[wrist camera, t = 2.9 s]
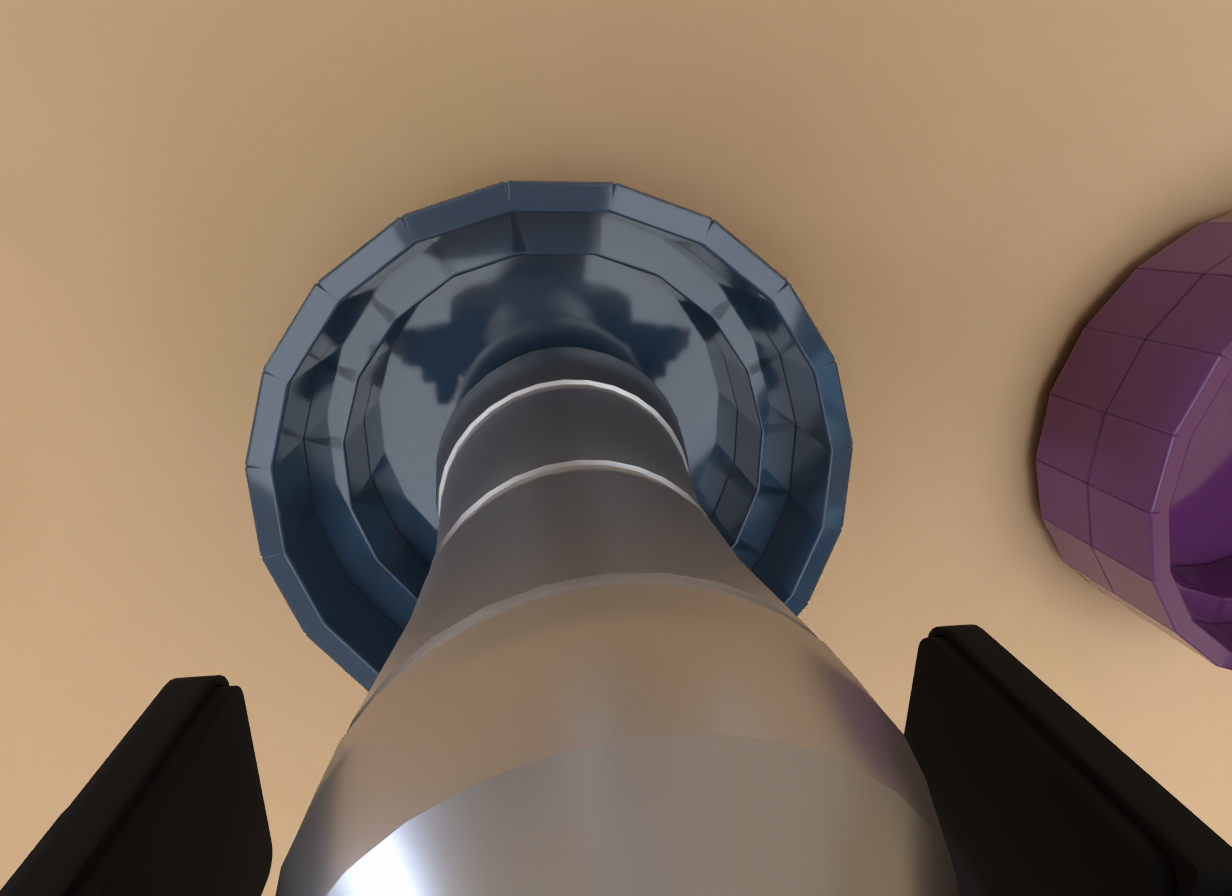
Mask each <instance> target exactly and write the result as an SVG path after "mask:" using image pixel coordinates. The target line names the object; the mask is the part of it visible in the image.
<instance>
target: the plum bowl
mask: <svg viewBox="0 0 1232 896" xmlns="http://www.w3.org/2000/svg"><path fill="white" fill-rule="evenodd" d="M1050 393H1051V395H1050V396H1049V400H1048V405H1047V409H1046V414H1045V419H1044V423H1043V428H1042V432H1041V437H1040V441H1039V446H1038V450H1037V455H1036V458H1037V459H1036V470H1037V480H1038V490H1039V501H1040V511H1041V518H1042V520H1043V522H1044V524H1045V525H1046V527H1047V529H1048V531H1049V533H1050V535H1051V537H1052V539H1053V541H1054V543H1055V545H1056V547H1057V549H1058V551H1059V553H1060V555H1061V556H1062V558H1063V560H1064V561H1065V563H1066V564H1068V565H1069V566H1070V567H1071V568H1073V569H1074V570H1075V571H1076V572H1078V573H1079V574H1080V575H1081V576H1083V577H1084V578H1085V579H1086V580H1088V581H1089V582H1090V583H1091V584H1093V585H1094V586H1095V587H1097V588H1098V589H1099V590H1100V591H1102V592H1103V593H1105V594H1106V595H1108V596H1109V597H1111V598H1112V599H1114V600H1116V601H1117V602H1119V603H1120V604H1122V605H1123V606H1125V607H1126V608H1128V609H1129V610H1131V611H1132V612H1134V613H1136V614H1137V615H1139V616H1140V617H1142V618H1143V619H1145V620H1146V621H1148V622H1149V623H1151V624H1153V625H1154V626H1155V627H1157V628H1159V629H1160V630H1162V631H1163V632H1165V633H1166V634H1168V635H1169V636H1171V637H1172V638H1174V639H1175V640H1177V641H1179V642H1180V643H1182V644H1183V645H1185V646H1186V647H1188V648H1189V649H1191V650H1192V651H1194V652H1195V653H1197V654H1199V655H1200V656H1202V657H1203V658H1205V659H1206V660H1208V661H1209V662H1211V663H1212V664H1214V665H1216V666H1218V667H1222V668H1226V669H1230V670H1232V213H1230V214H1227V215H1224V216H1222V217H1219V218H1216V219H1213V220H1210V221H1207V222H1204V223H1203V224H1199V225H1198V226H1196V227H1195V228H1193V229H1192V230H1190V231H1189V232H1188V233H1186V234H1185V235H1183V236H1182V237H1180V238H1179V239H1177V240H1176V241H1175V242H1173V243H1172V244H1170V245H1169V246H1167V247H1166V248H1164V249H1163V250H1162V251H1160V252H1159V253H1157V254H1156V255H1154V256H1153V257H1151V258H1150V259H1149V260H1147V261H1146V262H1144V263H1143V264H1141V265H1140V266H1138V267H1137V269H1136V270H1135V271H1134V272H1133V273H1132V274H1131V275H1130V276H1129V277H1128V279H1127V280H1126V281H1125V282H1124V283H1123V284H1122V285H1121V287H1120V288H1119V289H1118V290H1117V291H1116V292H1115V293H1114V294H1113V296H1112V297H1111V298H1110V299H1109V300H1108V301H1107V302H1106V304H1105V305H1104V306H1103V307H1102V308H1101V309H1100V310H1099V312H1098V313H1097V314H1096V315H1095V316H1094V317H1093V318H1092V319H1091V321H1090V322H1089V323H1088V324H1087V325H1086V328H1084V329H1083V331H1082V332H1081V334H1080V336H1079V338H1078V340H1077V342H1076V344H1075V346H1074V348H1073V350H1072V352H1071V354H1070V355H1069V357H1068V359H1067V361H1066V363H1065V365H1064V367H1063V369H1062V371H1061V373H1060V375H1059V377H1058V378H1057V380H1056V382H1055V384H1054V386H1053V388H1052V390H1051V392H1050Z"/></svg>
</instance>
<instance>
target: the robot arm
mask: <svg viewBox="0 0 1232 896" xmlns="http://www.w3.org/2000/svg"><path fill="white" fill-rule="evenodd" d="M904 736H905V738H906V740H907V742H908V744H909V746H910V748H911V750H912V752H913V754H914V756H915V758H916V760H917V762H918V764H919V766H920V768H921V770H922V772H923V774H924V777H925V779H926V782H927V785H928V788H929V792H930V795H931V798H932V801H933V804H934V807H935V811H936V814H937V817H938V820H939V823H940V827H941V830H942V833H943V836H944V839H945V842H946V846H947V849H948V852H949V855H950V858H951V861H952V865H953V868H954V871H955V876H956V881H957V887H958V893H959V896H1232V847H1231V846H1230V845H1229V844H1228V843H1226V842H1225V841H1224V840H1223V839H1222V838H1221V837H1220V836H1218V835H1217V834H1216V833H1215V832H1214V831H1213V830H1212V829H1210V828H1209V827H1208V826H1207V825H1206V824H1205V823H1204V822H1202V821H1201V820H1200V819H1199V818H1198V817H1197V816H1196V815H1194V814H1193V813H1192V812H1191V811H1190V810H1189V809H1188V808H1186V807H1185V806H1184V805H1183V804H1182V803H1181V802H1180V801H1178V800H1177V799H1176V798H1175V797H1174V796H1173V795H1172V794H1170V793H1169V792H1168V791H1167V790H1166V789H1165V788H1164V787H1162V786H1161V785H1160V784H1159V783H1158V782H1157V781H1156V780H1154V779H1153V778H1152V777H1151V776H1150V775H1149V774H1148V773H1146V772H1145V771H1144V770H1143V769H1142V768H1141V767H1140V766H1138V765H1137V764H1136V763H1135V762H1134V761H1133V760H1132V759H1130V758H1129V757H1128V756H1127V755H1126V754H1125V753H1124V752H1122V751H1121V750H1120V749H1119V748H1118V747H1117V746H1116V745H1114V744H1113V743H1112V742H1111V741H1110V740H1109V739H1108V738H1106V737H1105V736H1104V735H1103V734H1102V733H1101V732H1100V731H1098V730H1097V729H1096V728H1095V727H1094V726H1093V725H1092V724H1090V723H1089V722H1088V721H1087V720H1086V719H1085V718H1084V717H1082V716H1081V715H1080V714H1079V713H1078V712H1077V711H1076V710H1074V709H1073V708H1072V707H1071V706H1070V705H1069V704H1068V703H1066V702H1065V701H1064V700H1063V699H1062V698H1061V697H1060V696H1058V695H1057V694H1056V693H1055V692H1054V691H1053V690H1052V689H1050V688H1049V687H1048V686H1047V685H1046V684H1045V683H1044V682H1042V681H1041V680H1040V679H1039V678H1038V677H1037V676H1036V675H1035V674H1033V673H1032V672H1031V671H1030V670H1029V669H1028V668H1027V667H1025V666H1024V665H1023V664H1022V663H1021V662H1020V661H1019V660H1017V659H1016V658H1015V657H1014V656H1013V655H1012V654H1011V653H1009V652H1008V651H1007V650H1006V649H1005V648H1004V647H1003V646H1001V645H1000V644H999V643H998V642H997V641H996V640H995V639H993V638H992V637H991V636H990V635H989V634H988V633H987V632H985V631H984V630H983V629H982V628H980V627H979V626H977V625H971V624H970V625H956V626H941V627H935V628H933V629H932V630H931V632H930V633H929V636H928V638H924V639H922V641H921V642H920V644H919V647H918V653H917V659H916V665H915V671H914V677H913V683H912V690H911V696H910V702H909V708H908V714H907V720H906V726H905V732H904ZM271 863H272V842H271V836H270V831H269V826H268V821H267V815H266V810H265V805H264V800H263V794H262V789H261V784H260V779H259V773H258V768H257V763H256V758H255V752H254V747H253V742H252V737H251V731H250V726H249V721H248V716H247V710H246V705H245V700H244V695H243V692H242V690H241V688H240V687H239V686H229V683H228V681H227V679H226V678H225V677H224V676H221V675H215V676H200V677H185V678H175V679H172V680H170V681H169V682H168V683H167V684H166V685H165V686H164V687H163V689H162V690H161V691H160V692H159V694H158V695H157V696H156V697H155V699H154V700H153V701H152V702H151V704H150V705H149V706H148V707H147V709H146V710H145V711H144V712H143V714H142V715H141V716H140V717H139V719H138V720H137V721H136V723H135V724H134V725H133V726H132V728H131V729H130V730H129V731H128V733H127V734H126V735H125V736H124V738H123V739H122V740H121V741H120V743H119V744H118V745H117V746H116V748H115V749H114V750H113V751H112V753H111V754H110V755H109V757H108V758H107V759H106V760H105V762H104V763H103V764H102V765H101V767H100V768H99V769H98V770H97V772H96V773H95V774H94V775H93V777H92V778H91V779H90V780H89V782H88V783H87V784H86V785H85V787H84V788H83V789H82V791H81V792H80V793H79V794H78V796H77V797H76V798H75V799H74V801H73V802H72V803H71V804H70V806H69V807H68V808H67V809H66V810H65V811H64V812H63V813H62V814H61V815H60V816H59V818H58V819H57V820H56V821H55V823H54V824H53V825H52V826H51V828H50V829H49V830H48V831H47V833H46V834H45V835H44V836H43V838H42V839H41V840H40V841H39V843H38V844H37V845H36V846H35V848H34V849H33V850H32V851H31V853H30V854H29V855H28V857H27V858H26V859H25V860H24V862H23V863H22V864H21V865H20V867H19V868H18V869H17V870H16V872H15V873H14V874H13V875H12V877H11V878H10V879H9V880H8V882H7V883H6V884H5V885H4V887H3V888H2V889H1V890H0V896H261V894H262V892H263V889H264V887H265V884H266V882H267V879H268V876H269V873H270V868H271Z"/></svg>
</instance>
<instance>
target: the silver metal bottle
mask: <svg viewBox="0 0 1232 896" xmlns="http://www.w3.org/2000/svg"><path fill="white" fill-rule="evenodd" d="M436 506H437V511H438V516H439V526H438V536H437V546H436V553H435V556H434V559H433V561H432V564H431V567H430V571H429V573H428V576H427V578H426V580H425V582H424V584H423V587H422V590H421V592H420V595H419V598H418V600H417V603H416V605H415V608H414V611H413V613H412V616H411V619H410V620H409V622H408V624H407V626H406V627H405V629H404V631H403V633H402V635H401V636H400V638H399V640H398V642H397V643H396V645H395V647H394V649H393V650H392V652H391V654H390V656H389V657H388V659H387V661H386V663H385V664H384V666H383V668H382V670H381V671H380V673H379V675H378V677H377V678H376V680H375V682H374V684H373V686H372V687H371V689H370V691H369V693H368V694H367V696H366V698H365V700H364V701H363V703H362V705H361V707H360V708H359V710H358V712H357V714H356V715H355V717H354V719H353V721H352V723H351V725H350V727H349V729H348V731H347V733H346V734H345V736H344V737H343V738H342V739H341V741H340V742H339V744H338V746H337V748H336V750H335V753H334V755H333V757H332V759H331V761H330V763H329V765H328V767H327V769H326V771H325V773H324V775H323V777H322V780H321V782H320V784H319V786H318V788H317V790H316V792H315V795H314V797H313V799H312V801H311V804H310V806H309V808H308V810H307V813H306V815H305V817H304V820H303V822H302V824H301V826H300V829H299V831H298V833H297V835H296V837H295V839H294V841H293V844H292V846H291V848H290V850H289V852H288V854H287V856H286V858H285V860H284V862H283V865H282V867H281V871H280V876H279V881H278V886H277V891H276V896H959V893H958V887H957V881H956V876H955V871H954V868H953V865H952V861H951V858H950V855H949V852H948V849H947V846H946V842H945V839H944V836H943V833H942V830H941V827H940V823H939V820H938V817H937V814H936V811H935V807H934V804H933V801H932V798H931V795H930V792H929V788H928V785H927V782H926V779H925V777H924V774H923V772H922V770H921V768H920V766H919V764H918V762H917V760H916V758H915V756H914V754H913V752H912V750H911V748H910V746H909V744H908V742H907V740H906V738H905V736H904V735H903V733H902V732H901V731H900V730H899V729H898V728H897V726H896V725H895V724H894V723H893V722H892V721H891V719H890V718H889V717H888V716H887V715H886V714H885V712H884V711H883V710H882V709H881V708H880V707H879V705H878V704H877V703H876V702H875V700H874V699H873V698H872V697H871V695H870V694H869V693H868V692H867V690H866V689H865V688H864V687H863V685H862V684H861V683H860V682H859V680H858V679H857V678H856V677H855V676H854V675H853V674H852V672H851V671H850V670H849V669H848V668H847V667H846V666H845V665H844V664H843V663H842V661H841V660H840V659H839V658H838V657H837V656H836V655H835V654H834V653H833V651H832V650H831V649H830V648H829V647H828V646H827V645H826V644H825V643H824V642H822V641H821V640H819V639H818V638H817V637H816V636H815V634H814V633H813V632H812V631H811V630H810V629H809V628H808V627H807V626H806V625H805V624H804V623H803V622H802V621H801V620H800V619H799V618H798V617H797V616H796V615H795V614H794V613H793V612H792V611H791V610H790V609H789V608H788V607H787V606H786V605H785V604H784V603H783V602H782V601H781V600H780V599H779V598H778V597H777V596H776V595H775V594H774V593H773V592H772V591H771V590H770V589H769V588H768V587H767V586H765V585H764V584H763V583H762V582H761V581H760V580H759V579H758V578H757V577H756V576H755V575H754V574H753V573H752V572H751V571H750V570H749V569H748V568H747V567H746V566H745V565H744V564H743V563H742V562H741V561H740V560H739V559H738V557H737V556H736V554H735V553H734V552H733V550H732V549H731V548H730V546H729V545H728V543H727V542H726V541H725V539H724V538H723V536H722V535H721V534H720V532H719V531H718V530H717V528H716V527H715V526H714V525H713V524H712V522H711V521H710V520H709V518H708V516H707V514H706V513H705V512H704V510H703V509H702V508H701V506H700V504H699V502H698V499H697V496H696V493H695V491H694V488H693V485H692V482H691V480H690V477H689V465H688V456H687V452H686V448H685V444H684V440H683V437H682V433H681V430H680V426H679V423H678V419H677V417H676V415H675V413H674V411H673V409H672V407H671V405H670V404H669V402H668V400H667V398H666V397H665V395H664V394H663V393H662V392H661V391H660V390H659V388H658V387H657V386H656V385H655V384H654V383H653V381H652V380H651V379H649V378H648V377H647V376H645V375H644V374H643V373H642V372H640V371H639V370H638V369H636V368H635V367H634V366H632V365H630V364H628V363H626V362H624V361H622V360H620V359H618V358H615V357H613V356H611V355H609V354H605V353H601V352H597V351H593V350H588V349H584V348H580V347H553V348H547V349H541V350H535V351H532V352H529V353H527V354H524V355H521V356H519V357H516V358H513V359H512V360H510V361H508V362H507V363H505V364H503V365H502V366H500V367H499V368H497V369H495V370H494V371H492V372H490V373H489V374H487V375H486V376H485V377H484V378H483V379H481V380H480V381H479V382H478V383H477V384H476V385H475V386H474V387H473V388H472V389H470V390H469V391H468V392H467V393H466V395H465V396H464V397H463V399H462V400H461V402H460V403H459V404H458V406H457V407H456V408H455V410H454V411H453V412H452V414H451V416H450V419H449V421H448V423H447V425H446V427H445V429H444V431H443V434H442V436H441V440H440V445H439V449H438V453H437V458H436Z"/></svg>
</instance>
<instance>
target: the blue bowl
mask: <svg viewBox="0 0 1232 896" xmlns="http://www.w3.org/2000/svg"><path fill="white" fill-rule="evenodd" d="M553 347H580V348H584V349H588V350H593V351H597V352H601V353H605V354H609V355H611V356H613V357H615V358H618V359H620V360H622V361H624V362H626V363H628V364H630V365H632V366H634V367H635V368H636V369H638V370H639V371H640V372H642V373H643V374H644V375H645V376H647V377H648V378H649V379H651V380H652V381H653V383H654V384H655V385H656V386H657V387H658V388H659V390H660V391H661V392H662V393H663V394H664V395H665V397H666V398H667V400H668V402H669V404H670V405H671V407H672V409H673V411H674V413H675V415H676V417H677V419H678V423H679V426H680V430H681V433H682V437H683V440H684V444H685V448H686V452H687V456H688V465H689V477H690V480H691V482H692V485H693V488H694V491H695V493H696V496H697V499H698V502H699V504H700V506H701V508H702V509H703V510H704V512H705V513H706V514H707V516H708V518H709V520H710V521H711V522H712V524H713V525H714V526H715V527H716V528H717V530H718V531H719V532H720V534H721V535H722V536H723V538H724V539H725V541H726V542H727V543H728V545H729V546H730V548H731V549H732V550H733V552H734V553H735V554H736V556H737V557H738V559H739V560H740V561H741V562H742V563H743V564H744V565H745V566H746V567H747V568H748V569H749V570H750V571H751V572H752V573H753V574H754V575H755V576H756V577H757V578H758V579H759V580H760V581H761V582H762V583H763V584H764V585H765V586H767V587H768V588H769V589H770V590H771V591H772V592H773V593H774V594H775V595H776V596H777V597H778V598H779V599H780V600H781V601H782V602H783V603H784V604H785V605H786V606H787V607H788V608H789V609H790V610H791V611H792V612H793V613H794V614H795V615H796V616H798V615H799V614H800V612H801V611H802V610H803V609H804V608H805V607H806V605H807V604H808V601H809V600H810V598H811V596H812V594H813V591H814V589H815V587H816V585H817V583H818V581H819V578H820V576H821V574H822V572H823V570H824V567H825V565H826V563H827V561H828V559H829V557H830V554H831V552H832V550H833V548H834V546H835V544H836V541H837V539H838V537H839V535H840V533H841V528H842V527H843V520H844V512H845V504H846V496H847V488H848V480H849V473H850V465H851V457H852V438H851V433H850V428H849V423H848V418H847V413H846V408H845V403H844V398H843V393H842V388H841V383H840V378H839V373H838V368H837V363H836V362H835V359H834V356H833V355H832V353H831V351H830V350H829V348H828V346H827V345H826V343H825V341H824V340H823V338H822V336H821V334H820V333H819V331H818V329H817V328H816V326H815V324H814V323H813V321H812V319H811V318H810V316H809V314H808V313H807V311H806V309H805V308H804V306H803V304H802V302H801V301H800V299H799V297H798V296H797V294H796V292H795V291H794V289H793V287H792V286H791V284H790V283H788V281H787V279H786V278H784V277H783V276H782V275H781V274H780V273H778V272H777V271H776V270H775V269H774V268H772V267H771V266H770V265H769V264H768V263H766V262H765V261H764V260H763V259H762V258H760V257H759V256H758V255H757V254H756V253H754V252H753V251H752V250H751V249H750V248H748V247H747V246H746V245H745V244H743V243H742V242H741V241H740V240H739V239H737V238H736V237H735V236H734V235H733V234H731V233H730V232H729V231H728V230H727V229H725V228H724V227H723V226H722V225H721V224H719V223H718V222H717V221H716V220H712V218H711V217H708V216H706V215H703V214H700V213H697V212H695V211H692V210H689V209H687V208H684V207H681V206H678V205H676V204H673V203H670V202H668V201H665V200H662V199H659V198H657V197H654V196H651V195H648V194H646V193H643V192H640V191H638V190H635V189H632V188H629V187H627V186H624V185H621V184H619V183H615V184H614V183H612V182H568V181H507V183H506V182H500V183H497V184H494V185H491V186H488V187H485V188H482V189H479V190H476V191H473V192H470V193H467V194H464V195H461V196H458V197H455V198H452V199H449V200H446V201H443V202H440V203H437V204H434V205H431V206H428V207H425V208H422V209H419V210H416V211H413V212H410V213H407V214H404V215H403V216H402V217H399V218H397V219H396V220H395V221H393V222H392V223H391V224H389V225H388V226H387V227H386V228H384V229H383V230H382V231H381V232H379V233H378V234H377V235H375V236H374V237H373V238H372V239H370V240H369V241H368V242H367V243H365V244H364V245H363V246H361V247H360V248H359V249H358V250H356V251H355V252H354V253H353V254H351V255H350V256H349V257H348V258H346V259H345V260H344V261H342V262H341V263H340V264H339V265H337V266H336V267H335V268H334V269H332V270H331V271H330V272H328V273H327V274H326V275H325V276H323V277H322V278H321V279H320V280H319V281H318V283H316V284H314V286H313V288H312V289H311V291H310V293H309V294H308V296H307V298H306V299H305V301H304V302H303V304H302V306H301V307H300V309H299V311H298V312H297V314H296V316H295V317H294V319H293V321H292V322H291V324H290V325H289V327H288V329H287V330H286V332H285V334H284V335H283V337H282V339H281V340H280V342H279V343H278V345H277V347H276V348H275V350H274V352H273V353H272V355H271V357H270V358H269V360H268V361H267V363H266V365H265V366H264V368H263V373H262V376H261V381H260V386H259V392H258V397H257V402H256V408H255V413H254V418H253V424H252V429H251V435H250V440H249V445H248V451H247V456H246V461H245V464H246V467H245V471H246V476H247V482H248V488H249V493H250V499H251V505H252V510H253V516H254V521H255V527H256V533H257V538H258V544H259V550H260V555H261V556H262V560H263V562H264V563H265V565H266V567H267V569H268V570H269V572H270V574H271V576H272V577H273V579H274V581H275V583H276V584H277V586H278V588H279V590H280V591H281V593H282V595H283V597H284V598H285V600H286V602H287V604H288V605H289V607H290V609H291V611H292V612H293V614H294V616H295V618H296V619H297V621H298V623H299V625H300V626H301V628H302V630H303V632H304V633H306V635H307V637H308V638H310V639H311V640H312V641H313V642H314V643H315V644H316V645H317V646H318V647H319V648H321V649H322V650H323V651H324V652H325V653H326V654H327V655H328V656H329V657H331V658H332V659H333V660H334V661H335V662H336V663H337V664H338V665H339V666H341V667H342V668H343V669H344V670H345V671H346V672H347V673H348V674H349V675H351V676H352V677H353V678H354V679H355V680H356V681H357V682H358V683H359V684H361V685H362V686H363V687H364V688H365V689H366V690H367V691H370V689H371V687H372V686H373V684H374V682H375V680H376V678H377V677H378V675H379V673H380V671H381V670H382V668H383V666H384V664H385V663H386V661H387V659H388V657H389V656H390V654H391V652H392V650H393V649H394V647H395V645H396V643H397V642H398V640H399V638H400V636H401V635H402V633H403V631H404V629H405V627H406V626H407V624H408V622H409V620H410V619H411V616H412V613H413V611H414V608H415V605H416V603H417V600H418V598H419V595H420V592H421V590H422V587H423V584H424V582H425V580H426V578H427V576H428V573H429V571H430V567H431V564H432V561H433V559H434V556H435V553H436V546H437V536H438V526H439V516H438V511H437V506H436V458H437V453H438V449H439V445H440V440H441V436H442V434H443V431H444V429H445V427H446V425H447V423H448V421H449V419H450V416H451V414H452V412H453V411H454V410H455V408H456V407H457V406H458V404H459V403H460V402H461V400H462V399H463V397H464V396H465V395H466V393H467V392H468V391H469V390H470V389H472V388H473V387H474V386H475V385H476V384H477V383H478V382H479V381H480V380H481V379H483V378H484V377H485V376H486V375H487V374H489V373H490V372H492V371H494V370H495V369H497V368H499V367H500V366H502V365H503V364H505V363H507V362H508V361H510V360H512V359H513V358H516V357H519V356H521V355H524V354H527V353H529V352H532V351H535V350H541V349H547V348H553Z"/></svg>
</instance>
